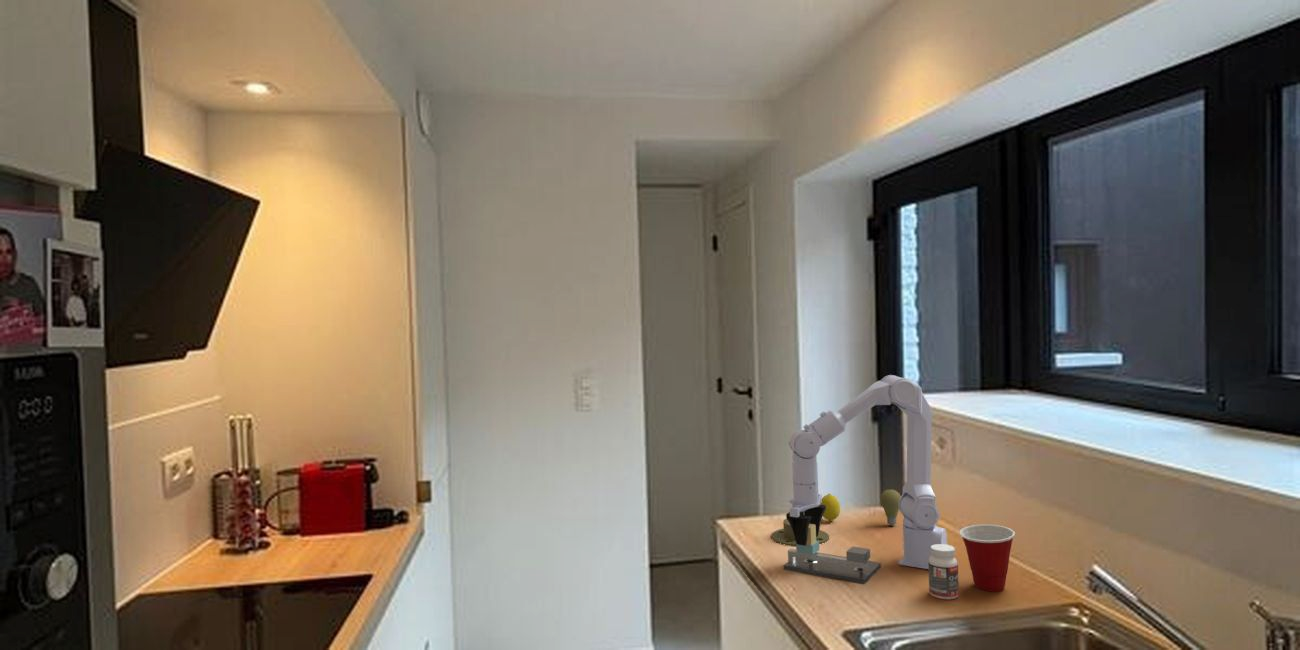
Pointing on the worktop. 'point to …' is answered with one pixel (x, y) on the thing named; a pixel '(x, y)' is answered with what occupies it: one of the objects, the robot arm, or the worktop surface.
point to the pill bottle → (943, 572)
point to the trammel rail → (839, 558)
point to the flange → (788, 536)
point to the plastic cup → (988, 554)
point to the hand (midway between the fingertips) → (807, 540)
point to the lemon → (831, 507)
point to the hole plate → (832, 569)
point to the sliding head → (809, 542)
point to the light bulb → (890, 505)
